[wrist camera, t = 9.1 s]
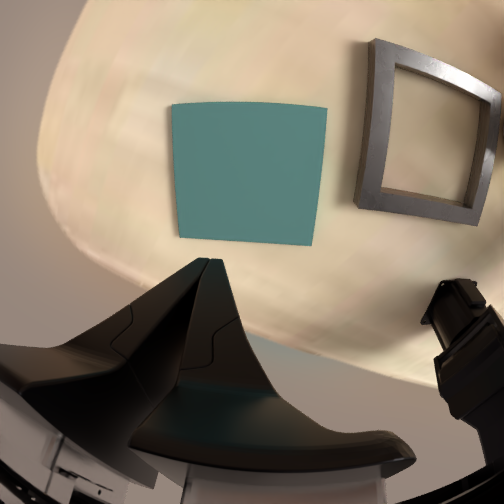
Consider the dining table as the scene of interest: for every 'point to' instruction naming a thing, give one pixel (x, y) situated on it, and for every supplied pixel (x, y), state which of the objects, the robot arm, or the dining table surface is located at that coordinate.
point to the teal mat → (248, 170)
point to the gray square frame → (378, 129)
